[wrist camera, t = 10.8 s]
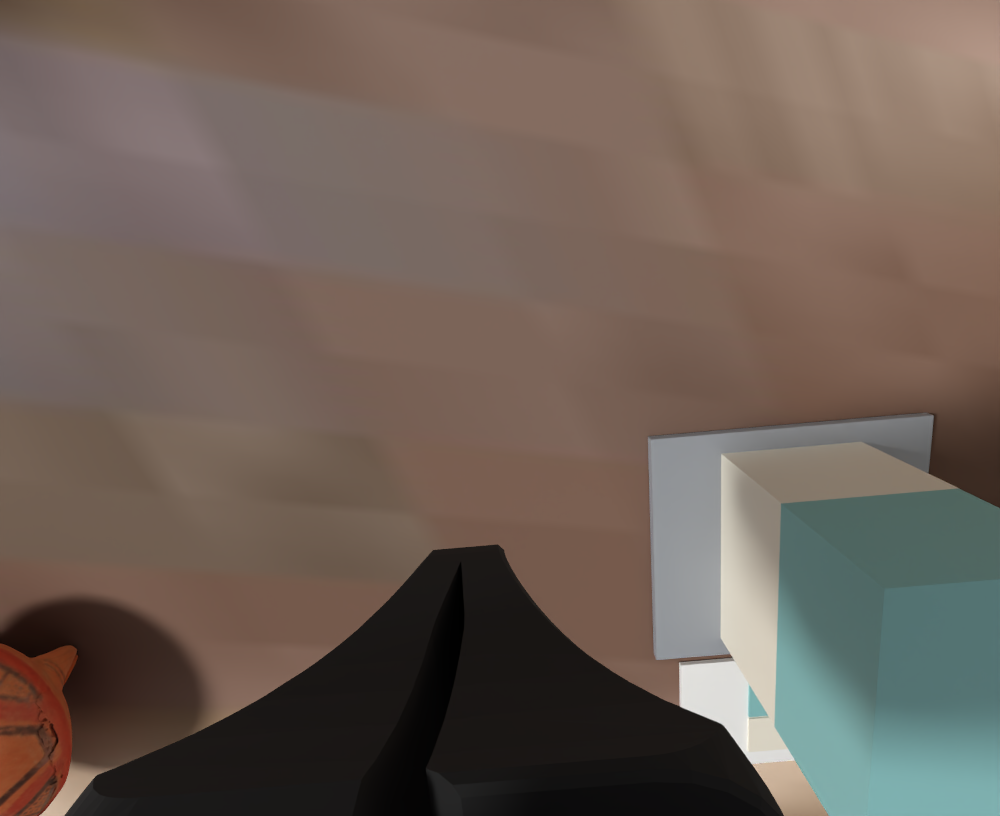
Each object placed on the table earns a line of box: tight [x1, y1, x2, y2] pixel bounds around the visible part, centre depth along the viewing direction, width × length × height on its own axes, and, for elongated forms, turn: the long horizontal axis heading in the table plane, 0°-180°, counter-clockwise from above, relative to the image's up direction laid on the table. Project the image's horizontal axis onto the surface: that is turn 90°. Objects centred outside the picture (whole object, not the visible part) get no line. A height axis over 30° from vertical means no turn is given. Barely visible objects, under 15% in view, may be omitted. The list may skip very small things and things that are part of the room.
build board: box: [648, 413, 934, 660], centre depth 22 cm, size 9×10×1 cm
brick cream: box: [721, 442, 958, 724], centre depth 20 cm, size 8×5×4 cm, turn 5°
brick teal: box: [774, 488, 1000, 816], centre depth 15 cm, size 8×5×4 cm, turn 5°
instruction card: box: [679, 658, 795, 764], centre depth 24 cm, size 5×8×1 cm, turn 95°
